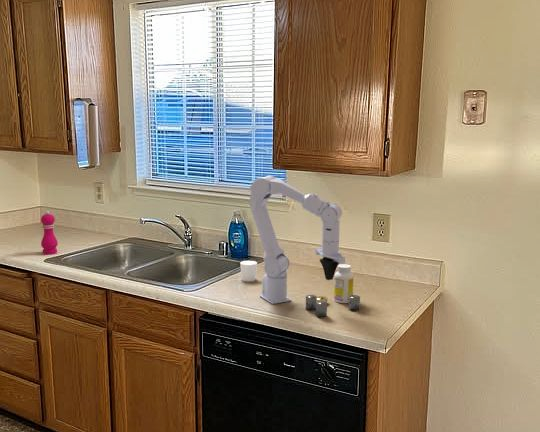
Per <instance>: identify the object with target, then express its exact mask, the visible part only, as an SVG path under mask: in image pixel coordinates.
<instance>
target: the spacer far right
mask: <svg viewBox="0 0 540 432" xmlns="http://www.w3.org/2000/svg"><path fill="white" fill-rule="evenodd" d="M327 316H328V301H327V302H324V301H318V302H316V310H315V317H316V318H318V319H319V318H320V319H326V318H327ZM325 317H326V318H325Z"/></svg>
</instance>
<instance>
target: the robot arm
mask: <svg viewBox="0 0 540 432" xmlns="http://www.w3.org/2000/svg"><path fill="white" fill-rule="evenodd" d="M249 189H250V196H249V202H248V203H249V207H250V210H251V214H252V217H253V219H254V223H255V225H256V228H257V232H258V235H259V238H260V242H261V245H262V247H263V250H264V253H263V258H262V259H263V264H264V266H263V271H264V273H265V274H264V275H263V277H262V279H261V294H259V297H261V298H262V299H264V300H265V301H267V302H268V303H270V304H271V305H274V304H280V303H286V302H291V301H292V298H290V297H289V296H287V295H288V291H287V288H288V284H287V283H288V273H287V270H288V269H289V268H290V259H289V257H288V256H287V255H286V254H285V251H284V249H282V248H281V247H280V244H279V242H278V239H277V236H276V233H275V230H274V228H273V223H272V221H271V218H270V214H269V212H268V208H267V202H268V201H269V199H270V198H271V196H272V195H278V194H280V195H283V196H285V197H287V198H289V199H291V200H293V201H296V202H297V203H300V204H301V206H302V208H303V210H305V211H308V212H309V213H311V214H313V215H314V216H316V217H319V218H320V220H321V221H322V228H321V229H322V234H321V247H320V248H319V247H318V248H315V255H317V256H321V257H322V258H319V262H320V264H321V266H322V269H323V273H324V278H325V280H326V281H331V280H333V279H334V277H335V273H336V271H337V268H338V265H340V264H346V257H345V256H343V255H342V252H341V251H340V248H339V247H340V219H341V218H342V214H343V212H342V208H341V207H340V206H339V205H338V204H337V203H331V202H330V201H329V200H327V201H326V200H324V199H322V198H320V197H318V196H319V195H318V194H317V193H308V194H306V193H303V191H300V190H299V189H297V188H295V187H293V185H290V184H289V183H288V182H285V181H284V180H282V179H281V178H278V177H275V176H274V175H271V174H270V175H266V176H264V177H258V178H255V179H254V181H253V182H252V183H251V185H250V186H249Z"/></svg>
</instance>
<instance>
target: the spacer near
mask: <svg viewBox="0 0 540 432" xmlns="http://www.w3.org/2000/svg"><path fill="white" fill-rule="evenodd" d="M316 300H317V295H315V294H306V295H305V310H306V311H308V312H316Z"/></svg>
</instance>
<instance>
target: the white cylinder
mask: <svg viewBox="0 0 540 432" xmlns="http://www.w3.org/2000/svg"><path fill="white" fill-rule="evenodd" d="M239 264H240V277H241V281H243V282H249V283H250V282H254V281H256V278H257V268H258V262H257V261H255V260H242V261H240V262H239Z"/></svg>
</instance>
